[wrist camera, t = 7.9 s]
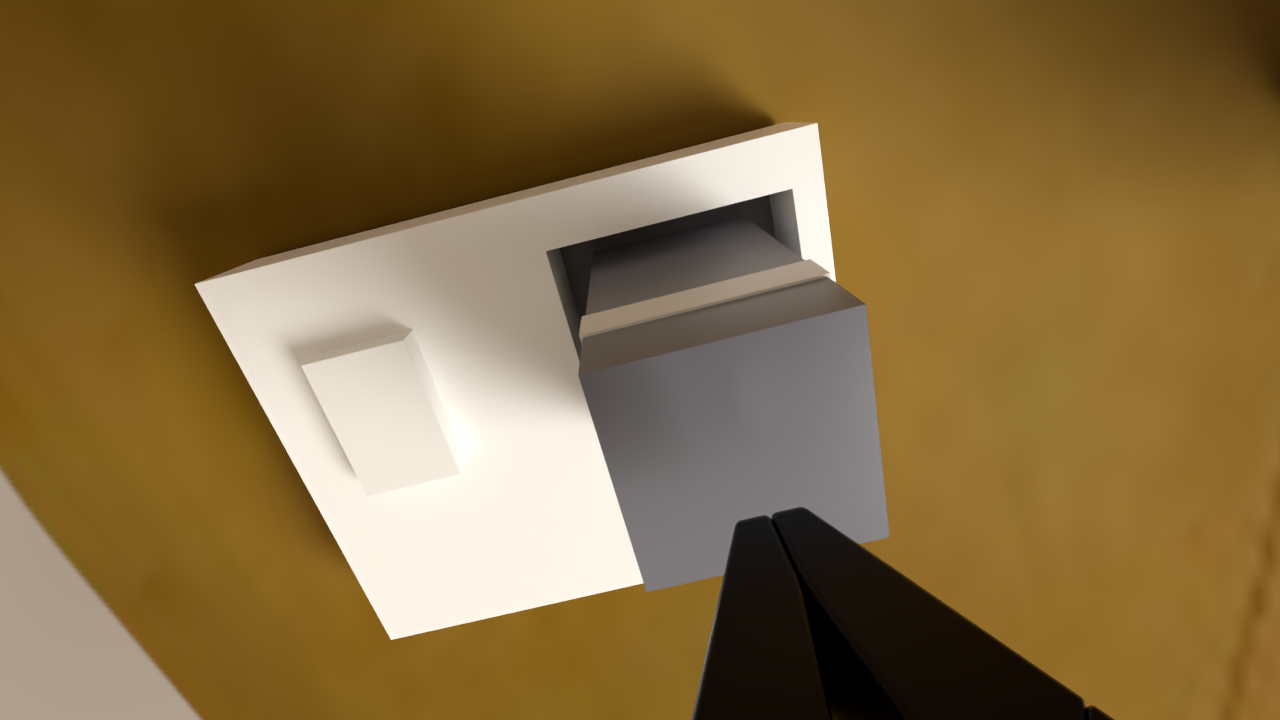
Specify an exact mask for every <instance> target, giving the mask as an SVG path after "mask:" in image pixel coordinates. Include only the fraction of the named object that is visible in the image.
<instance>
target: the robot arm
mask: <svg viewBox="0 0 1280 720" xmlns="http://www.w3.org/2000/svg"><path fill="white" fill-rule="evenodd" d="M691 720H1114V719H1113V718H1111V717H1110V716H1108V715H1107V714H1105V713H1104V712H1103V711H1101V710H1100V709H1098V708H1097V707H1095V706H1092V705H1091V706H1088V707H1087V708H1086V706H1085V701H1084V700H1083V698H1082V697H1080V696H1079V695H1077V694H1076V693H1074V692H1073V691H1071V690H1070V689H1069V688H1067V687H1066V686H1064V685H1063V684H1061V683H1060V682H1058V681H1057V680H1055V679H1054V678H1053V677H1051V676H1050V675H1048V674H1047V673H1045V672H1044V671H1042V670H1041V669H1039V668H1038V667H1037V666H1035V665H1034V664H1032V663H1031V662H1029V661H1028V660H1026V659H1025V658H1023V657H1022V656H1021V655H1019V654H1018V653H1016V652H1015V651H1013V650H1012V649H1010V648H1009V647H1007V646H1006V645H1005V644H1003V643H1002V642H1000V641H999V640H997V639H996V638H994V637H993V636H992V635H990V634H989V633H987V632H986V631H984V630H983V629H981V628H980V627H978V626H977V625H976V624H974V623H973V622H971V621H970V620H968V619H967V618H965V617H964V616H962V615H961V614H960V613H958V612H957V611H955V610H954V609H952V608H951V607H949V606H948V605H946V604H945V603H944V602H942V601H941V600H939V599H938V598H936V597H935V596H933V595H932V594H930V593H929V592H928V591H926V590H925V589H923V588H922V587H920V586H919V585H917V584H916V583H914V582H913V581H912V580H910V579H909V578H907V577H906V576H904V575H903V574H901V573H900V572H898V571H897V570H896V569H894V568H893V567H891V566H890V565H888V564H887V563H885V562H884V561H882V560H881V559H880V558H878V557H877V556H875V555H874V554H872V553H871V552H869V551H868V550H867V549H865V548H864V547H862V546H861V545H859V544H858V543H856V542H855V541H853V540H852V539H851V538H849V537H848V536H846V535H845V534H843V533H842V532H840V531H839V530H837V529H836V528H835V527H833V526H832V525H830V524H829V523H827V522H826V521H824V520H823V519H821V518H820V517H819V516H817V515H816V514H814V513H813V512H811V511H810V510H808V509H807V508H804V507H797V508H792V509H788V510H784V511H779V512H775V513H774V514H773V515H772V517H771V518H770V517H769V516H766V515H762V516H757V517H753V518H748V519H744V520H740V521H738V522H737V523H736V525H735V528H734V532H733V537H732V541H731V546H730V550H729V555H728V559H727V563H726V568H725V572H724V577H723V581H722V586H721V590H720V594H719V599H718V603H717V608H716V612H715V617H714V621H713V625H712V630H711V634H710V639H709V643H708V648H707V652H706V656H705V661H704V665H703V670H702V674H701V679H700V683H699V687H698V692H697V696H696V701H695V705H694V710H693V714H692V718H691Z"/></svg>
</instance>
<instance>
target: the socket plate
mask: <svg viewBox="0 0 1280 720" xmlns="http://www.w3.org/2000/svg"><path fill="white" fill-rule="evenodd" d="M740 215H743V216H744V217H746V218H747V219H748V220H750V221H751V222H753V223H754V224H755V225H757V226H758V227H759V228H761V229H762V230H764V231H765V232H766V233H768V234H769V235H771V236H772V237H773V238H775V239H776V240H777V241H779V242H780V243H782V244H783V245H784V246H786V247H787V248H789V249H790V250H791V251H793V252H794V253H795V254H797V255H798V256H800V257H801V258H802V259H804V260H808V259H811V260H812V261H814V262H815V263H817V264H818V265H820V266H821V267H823V268H824V269H825V270H827V271H828V272H830V275H831V280H833V281H834V282H836V279H835V270H834V261H833V253H832V244H831V236H830V227H829V218H828V210H827V201H826V193H825V184H824V175H823V167H822V158H821V150H820V141H819V132H818V124H817V123H791V122H784V123H780V124H777V125H773V126H769V127H765V128H761V129H757V130H753V131H750V132H746V133H742V134H738V135H734V136H730V137H726V138H723V139H719V140H715V141H711V142H707V143H703V144H700V145H696V146H692V147H688V148H684V149H680V150H676V151H673V152H669V153H665V154H661V155H657V156H653V157H649V158H646V159H642V160H638V161H634V162H630V163H626V164H622V165H619V166H615V167H611V168H607V169H603V170H599V171H595V172H592V173H588V174H584V175H580V176H576V177H572V178H568V179H565V180H561V181H557V182H553V183H549V184H545V185H541V186H538V187H534V188H530V189H526V190H522V191H518V192H515V193H511V194H507V195H503V196H499V197H495V198H491V199H488V200H484V201H480V202H476V203H472V204H468V205H464V206H461V207H457V208H453V209H449V210H445V211H441V212H437V213H434V214H430V215H426V216H422V217H418V218H414V219H410V220H407V221H403V222H399V223H395V224H391V225H387V226H383V227H380V228H376V229H372V230H368V231H364V232H360V233H356V234H353V235H349V236H345V237H341V238H337V239H333V240H330V241H326V242H322V243H318V244H314V245H310V246H306V247H303V248H299V249H295V250H291V251H287V252H283V253H279V254H276V255H272V256H268V257H264V258H260V259H257V260H254V261H251V262H249V263H246V264H244V265H241V266H239V267H236V268H234V269H231V270H229V271H226V272H224V273H221V274H219V275H216V276H214V277H211V278H209V279H206V280H204V281H201V282H199V283H196V284H194V285H195V286H196V288H197V290H198V292H199V294H200V295H201V297H202V299H203V301H204V303H205V304H206V306H207V308H208V310H209V312H210V313H211V315H212V317H213V319H214V321H215V322H216V324H217V326H218V328H219V330H220V332H221V333H222V335H223V337H224V339H225V341H226V342H227V344H228V346H229V348H230V350H231V351H232V353H233V355H234V357H235V359H236V360H237V362H238V364H239V366H240V368H241V369H242V371H243V373H244V375H245V377H246V379H247V380H248V382H249V384H250V386H251V388H252V389H253V391H254V393H255V395H256V397H257V398H258V400H259V402H260V404H261V406H262V407H263V409H264V411H265V413H266V415H267V416H268V418H269V420H270V422H271V424H272V426H273V427H274V429H275V431H276V433H277V435H278V436H279V438H280V440H281V442H282V444H283V445H284V447H285V449H286V451H287V453H288V454H289V456H290V458H291V460H292V462H293V464H294V465H295V467H296V469H297V471H298V473H299V474H300V476H301V478H302V480H303V482H304V483H305V485H306V487H307V489H308V491H309V492H310V494H311V496H312V498H313V500H314V501H315V503H316V505H317V507H318V509H319V511H320V512H321V514H322V516H323V518H324V520H325V521H326V523H327V525H328V527H329V529H330V530H331V532H332V534H333V536H334V538H335V539H336V541H337V543H338V545H339V547H340V548H341V550H342V552H343V554H344V556H345V558H346V559H347V561H348V563H349V565H350V567H351V568H352V570H353V572H354V574H355V576H356V577H357V579H358V581H359V583H360V585H361V586H362V588H363V590H364V592H365V594H366V596H367V597H368V599H369V601H370V603H371V605H372V606H373V608H374V610H375V612H376V614H377V615H378V617H379V619H380V621H381V623H382V624H383V626H384V628H385V630H386V632H387V633H388V635H389V637H390V639H391V640H393V639H397V638H402V637H406V636H411V635H415V634H419V633H424V632H428V631H433V630H437V629H442V628H446V627H451V626H455V625H459V624H464V623H468V622H473V621H477V620H482V619H486V618H491V617H495V616H500V615H504V614H508V613H513V612H517V611H522V610H526V609H531V608H535V607H540V606H544V605H548V604H553V603H557V602H562V601H566V600H571V599H575V598H580V597H584V596H589V595H593V594H597V593H602V592H606V591H611V590H615V589H620V588H624V587H629V586H633V585H637V584H642V583H644V582H643V579H642V576H641V573H640V570H639V566H638V563H637V560H636V557H635V554H634V551H633V547H632V544H631V541H630V538H629V535H628V532H627V528H626V525H625V522H624V519H623V516H622V513H621V509H620V506H619V503H618V500H617V497H616V494H615V490H614V487H613V484H612V481H611V478H610V474H609V471H608V468H607V465H606V462H605V459H604V455H603V452H602V449H601V446H600V443H599V440H598V436H597V433H596V430H595V427H594V424H593V421H592V417H591V414H590V411H589V408H588V405H587V402H586V398H585V395H584V392H583V389H582V386H581V383H580V379H579V376H578V373H579V365H580V357H581V349H582V344H581V341H580V337H579V332H580V325H581V318H582V316H586V308H587V300H588V292H589V284H590V276H591V268H592V260H593V253H596V252H599V251H603V250H607V249H611V248H615V247H619V246H623V245H627V244H631V243H634V242H638V241H642V240H646V239H650V238H654V237H658V236H662V235H666V234H670V233H673V232H677V231H681V230H685V229H689V228H693V227H697V226H701V225H705V224H709V223H712V222H716V221H720V220H724V219H728V218H732V217H736V216H740Z"/></svg>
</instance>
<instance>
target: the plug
mask: <svg viewBox="0 0 1280 720" xmlns="http://www.w3.org/2000/svg"><path fill="white" fill-rule="evenodd" d="M579 337H580V341H581V344H582V349H581V357H580V365H579V373H578V376H579V379H580V383H581V386H582V389H583V392H584V395H585V398H586V402H587V405H588V408H589V411H590V414H591V417H592V421H593V424H594V427H595V430H596V433H597V436H598V440H599V443H600V446H601V449H602V452H603V455H604V459H605V462H606V465H607V468H608V471H609V474H610V478H611V481H612V484H613V487H614V490H615V494H616V497H617V500H618V503H619V506H620V509H621V513H622V516H623V519H624V522H625V525H626V528H627V532H628V535H629V538H630V541H631V544H632V547H633V551H634V554H635V557H636V560H637V563H638V566H639V570H640V573H641V576H642V579H643V582H644V585H645V589H646V592H649V591H654V590H658V589H663V588H667V587H671V586H676V585H680V584H685V583H689V582H693V581H698V580H702V579H707V578H711V577H715V576H720V575H724V572H725V568H726V563H727V559H728V555H729V550H730V546H731V541H732V537H733V532H734V528H735V525H736V523H737V522H738V521H740V520H744V519H748V518H753V517H757V516H762V515H766V516H769V517H770V518H771V517H772V515H773V514H774V513H775V512H779V511H784V510H788V509H792V508H797V507H804V508H807V509H808V510H810V511H811V512H813V513H814V514H816V515H817V516H819V517H820V518H821V519H823V520H824V521H826V522H827V523H829V524H830V525H832V526H833V527H835V528H836V529H837V530H839V531H840V532H842V533H843V534H845V535H846V536H848V537H849V538H851V539H852V540H853V541H855V542H856V543H858V544H861V543H865V542H870V541H874V540H879V539H883V538H887V537H889V529H888V519H887V509H886V499H885V489H884V479H883V469H882V460H881V450H880V440H879V430H878V420H877V410H876V400H875V391H874V381H873V371H872V361H871V351H870V341H869V331H868V321H867V312H866V304H865V303H863V302H862V301H860V300H859V299H858V298H856V297H855V296H854V295H852V294H851V293H849V292H848V291H847V290H845V289H844V288H842V287H841V286H840V285H838V284H837V283H836V282H834V281H833V280H831V275H830V272H828V271H827V270H825V269H824V268H823V267H821V266H820V265H818V264H817V263H815V262H814V261H812V260H811V259H808V260H804V259H802V258H801V257H800V256H798V255H797V254H795V253H794V252H793V251H791V250H790V249H789V248H787V247H786V246H784V245H783V244H782V243H780V242H779V241H777V240H776V239H775V238H773V237H772V236H771V235H769V234H768V233H766V232H765V231H764V230H762V229H761V228H759V227H758V226H757V225H755V224H754V223H753V222H751V221H750V220H748V219H747V218H746V217H744V216H743V215H740V216H736V217H732V218H728V219H724V220H720V221H716V222H712V223H709V224H705V225H701V226H697V227H693V228H689V229H685V230H681V231H677V232H673V233H670V234H666V235H662V236H658V237H654V238H650V239H646V240H642V241H638V242H634V243H631V244H627V245H623V246H619V247H615V248H611V249H607V250H603V251H599V252H596V253H593V260H592V268H591V276H590V284H589V292H588V300H587V308H586V316H582V318H581V325H580V332H579Z"/></svg>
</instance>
